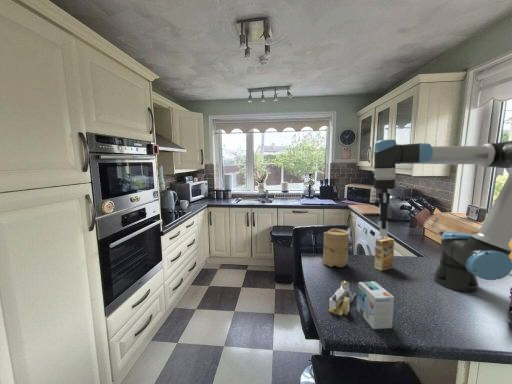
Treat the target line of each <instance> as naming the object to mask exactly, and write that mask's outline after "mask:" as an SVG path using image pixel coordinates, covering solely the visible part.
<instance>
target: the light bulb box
mask: <svg viewBox="0 0 512 384" xmlns="http://www.w3.org/2000/svg"><path fill="white" fill-rule="evenodd" d="M356 301H357V303H356V311H358V312H359V314H360V315H361V316H362V317H363V319H364V320H365V321H366V322H367V324H368V325H369V326H370V327H371V328H372V329H374V330H378V329H379V330H380V329H392V328H393V320H394V319H393V316H394V305H395V304H394V303H395V296H394V295H392V294H391V293H390V292H389V291H387V290H386V289H385V288H383V286H382V285H380V284H379V283H377V282H376V280H375V281H359V282H358V283H357V300H356Z"/></svg>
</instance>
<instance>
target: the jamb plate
mask: <svg viewBox="0 0 512 384" xmlns="http://www.w3.org/2000/svg"><path fill="white" fill-rule="evenodd" d="M339 288H340V287H338V288H337V289H336V291H337V290H338V289H339ZM356 295H357V293H356V292H354V291H350V290H349V295H347V296H346V297H348V298H350V304H352V303H353V302H354V300H355V298H356Z"/></svg>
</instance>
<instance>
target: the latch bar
mask: <svg viewBox="0 0 512 384" xmlns="http://www.w3.org/2000/svg"><path fill="white" fill-rule="evenodd" d="M338 288H339V289H338ZM338 288H337V289H338V290H337V289H336V291H335V292H334V294H333V293H332V294H331V297H330V298H329V300H328V307H329V309H330V308H333V309H335V310H336V308H337V307H338V306H339V305H340V303H341V302H342V301H343V300H344V298H345V297H346V296H347V295H349V291H350V282H348V281H347V280H342V281H340V286H339V287H338Z"/></svg>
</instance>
